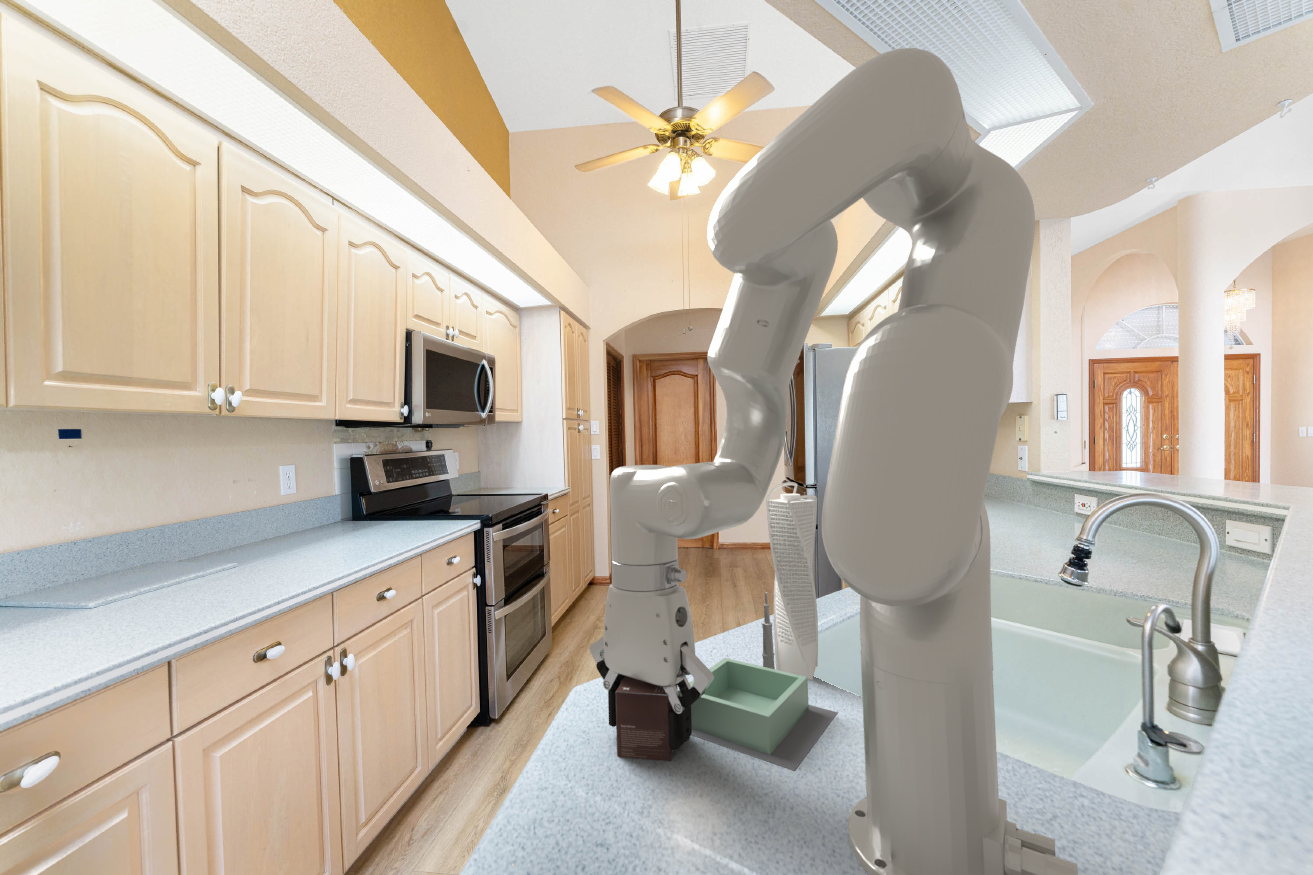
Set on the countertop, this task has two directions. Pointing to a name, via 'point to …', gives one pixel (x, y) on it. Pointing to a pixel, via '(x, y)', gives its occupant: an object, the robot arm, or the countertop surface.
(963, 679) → the robot arm
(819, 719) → the mat
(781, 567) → the skyscraper
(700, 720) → the crate
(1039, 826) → the countertop surface
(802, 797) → the countertop surface
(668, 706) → the box
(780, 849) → the countertop surface
